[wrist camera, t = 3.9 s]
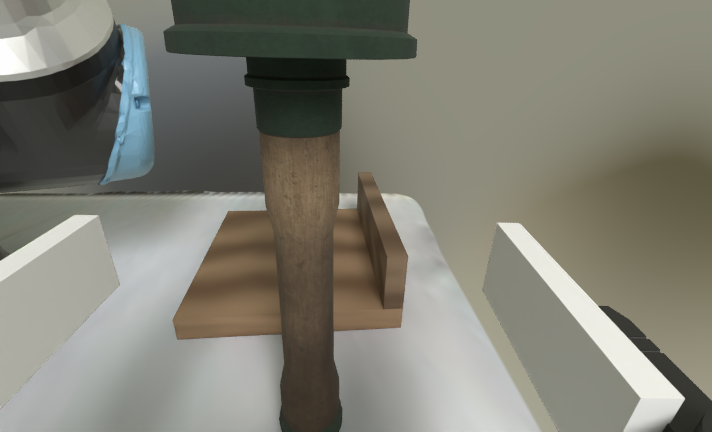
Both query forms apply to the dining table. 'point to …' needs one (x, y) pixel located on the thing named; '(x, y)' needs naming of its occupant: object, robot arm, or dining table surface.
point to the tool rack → (260, 283)
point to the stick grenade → (299, 154)
